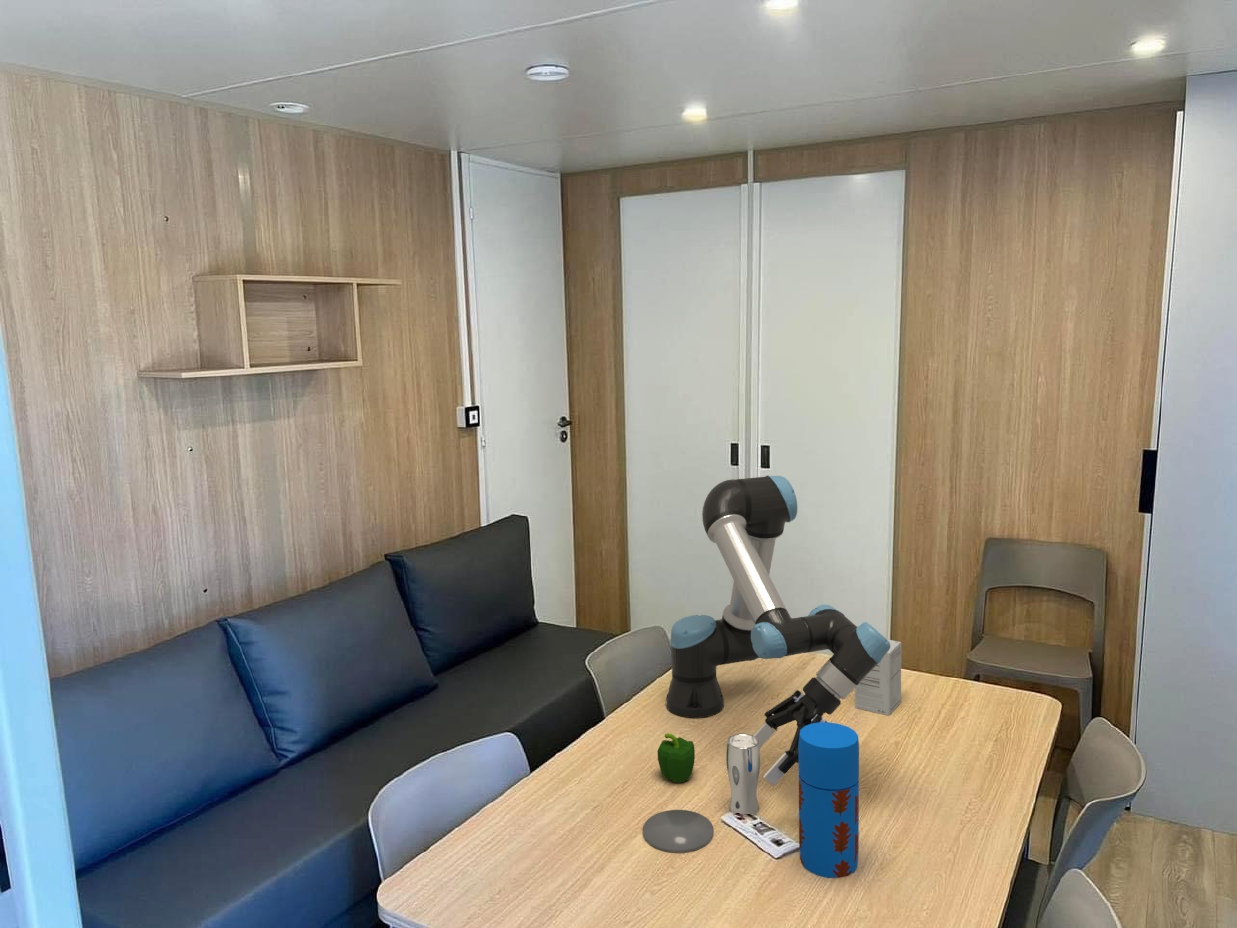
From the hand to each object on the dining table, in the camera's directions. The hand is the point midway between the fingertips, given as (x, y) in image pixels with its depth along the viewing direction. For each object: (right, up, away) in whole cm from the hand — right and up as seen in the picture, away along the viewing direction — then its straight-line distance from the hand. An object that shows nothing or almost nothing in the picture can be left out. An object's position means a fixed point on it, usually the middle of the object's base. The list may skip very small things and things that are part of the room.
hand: (758, 764), depth 183 cm
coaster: (-17, -12, -5) cm, 21 cm away
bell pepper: (-15, -8, +16) cm, 24 cm away
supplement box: (+39, -1, +49) cm, 62 cm away
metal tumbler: (-3, -10, +2) cm, 11 cm away
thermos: (+11, -13, -16) cm, 23 cm away
